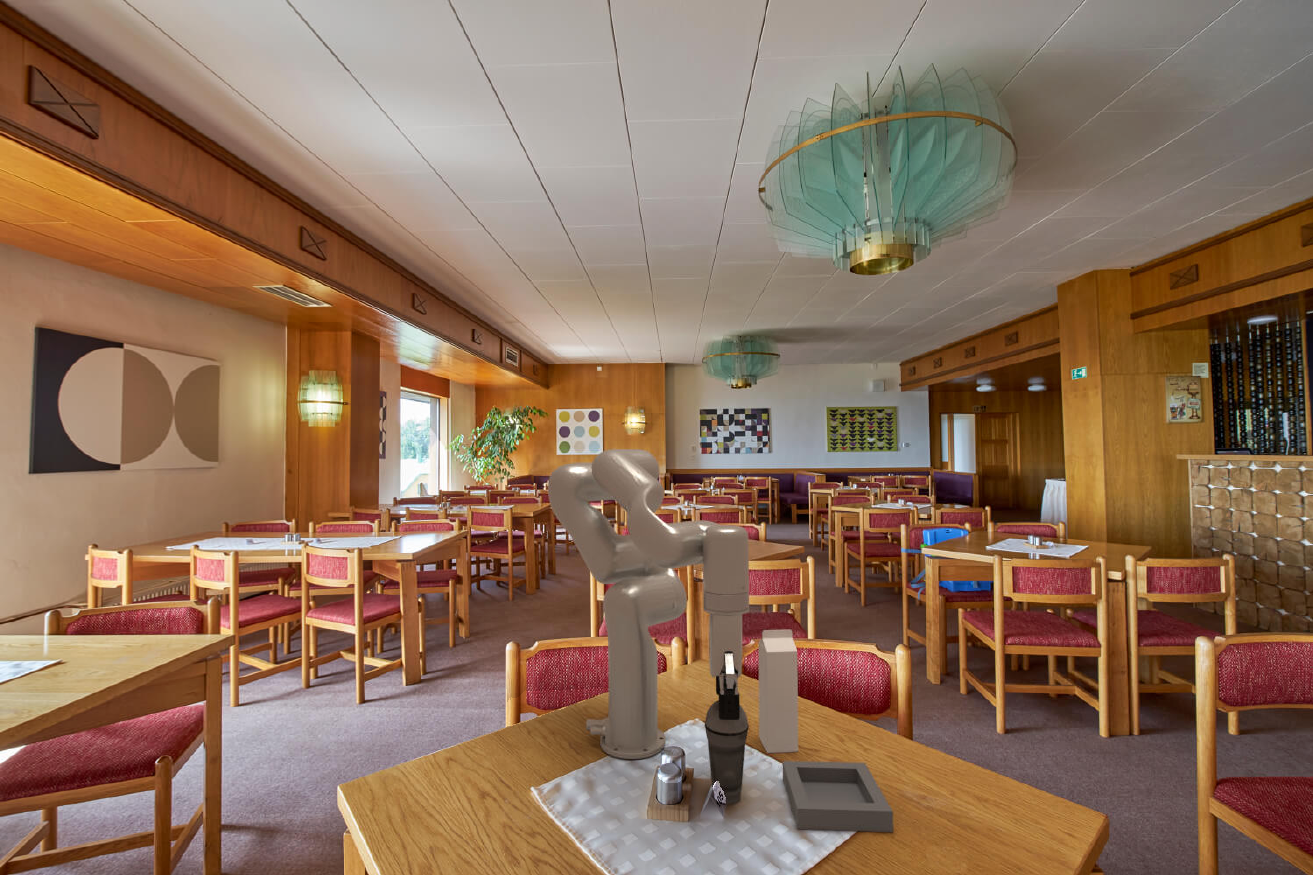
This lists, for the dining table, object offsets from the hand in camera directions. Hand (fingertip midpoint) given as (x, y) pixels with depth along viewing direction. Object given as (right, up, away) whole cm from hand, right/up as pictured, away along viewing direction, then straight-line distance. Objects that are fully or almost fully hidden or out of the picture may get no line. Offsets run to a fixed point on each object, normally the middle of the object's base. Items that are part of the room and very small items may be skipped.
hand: (727, 706), depth 98 cm
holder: (+17, -15, -2) cm, 22 cm away
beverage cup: (0, -15, 0) cm, 15 cm away
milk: (+12, -15, +17) cm, 26 cm away
